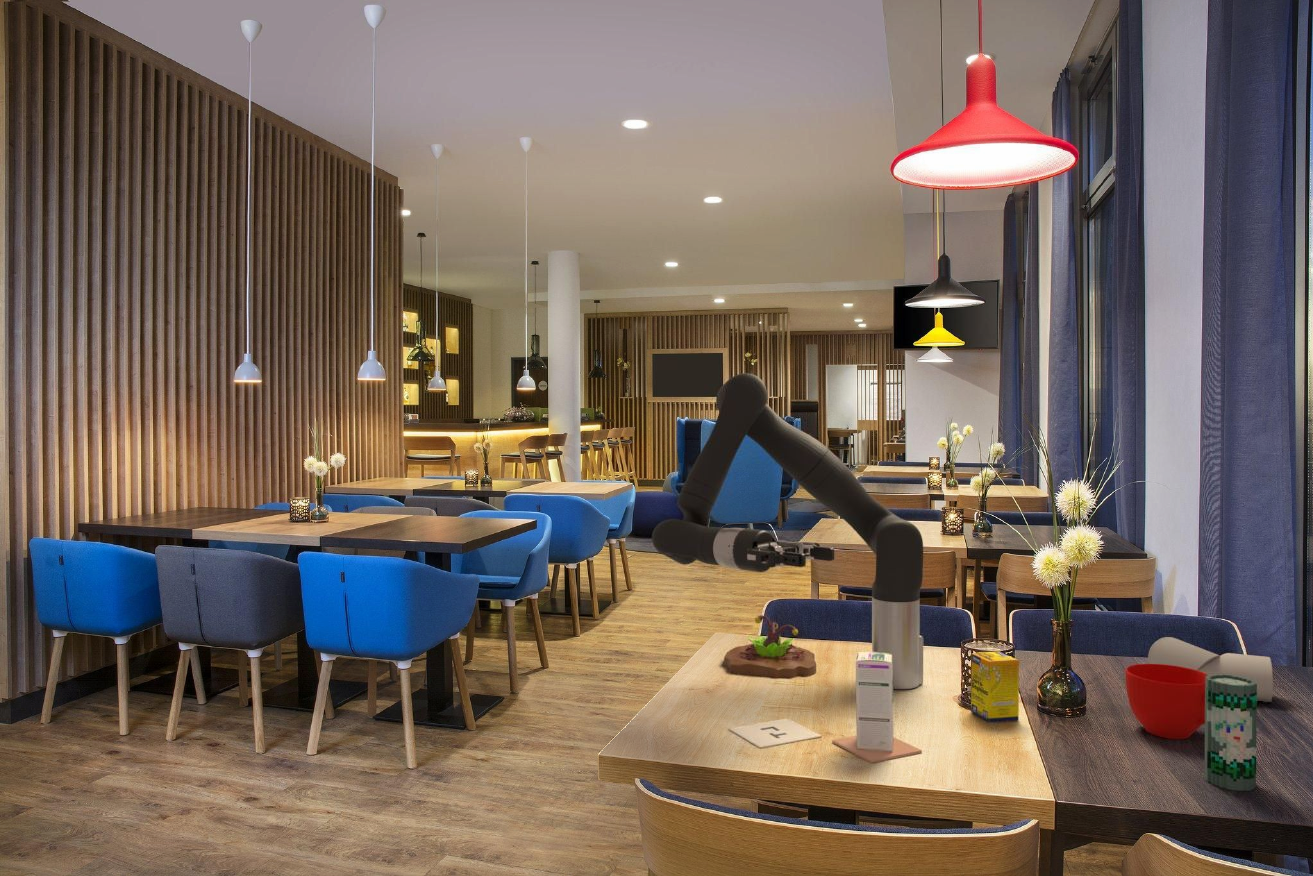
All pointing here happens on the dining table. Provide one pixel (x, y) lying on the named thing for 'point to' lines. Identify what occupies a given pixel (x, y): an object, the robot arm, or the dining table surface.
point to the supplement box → (995, 686)
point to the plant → (771, 656)
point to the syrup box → (874, 701)
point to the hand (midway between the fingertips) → (819, 557)
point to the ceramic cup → (1167, 698)
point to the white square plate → (774, 733)
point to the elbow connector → (1215, 663)
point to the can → (1230, 731)
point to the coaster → (876, 756)
